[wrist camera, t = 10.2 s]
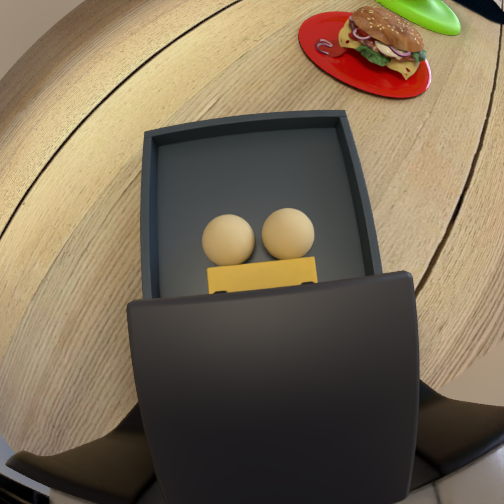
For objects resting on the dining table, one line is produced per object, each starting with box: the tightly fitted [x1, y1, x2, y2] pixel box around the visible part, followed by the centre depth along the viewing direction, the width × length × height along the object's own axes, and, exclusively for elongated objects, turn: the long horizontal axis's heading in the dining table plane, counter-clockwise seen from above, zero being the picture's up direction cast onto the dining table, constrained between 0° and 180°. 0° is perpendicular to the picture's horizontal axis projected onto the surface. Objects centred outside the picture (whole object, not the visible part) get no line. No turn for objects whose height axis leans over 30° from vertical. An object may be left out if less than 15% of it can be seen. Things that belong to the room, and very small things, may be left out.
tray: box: [140, 110, 383, 299], centre depth 18 cm, size 17×14×2 cm
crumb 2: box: [262, 208, 314, 260], centre depth 17 cm, size 3×3×3 cm
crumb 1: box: [202, 214, 255, 266], centre depth 17 cm, size 3×3×3 cm
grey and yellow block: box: [126, 257, 419, 504], centre depth 9 cm, size 6×5×14 cm
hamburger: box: [298, 6, 431, 98], centre depth 19 cm, size 14×14×6 cm
